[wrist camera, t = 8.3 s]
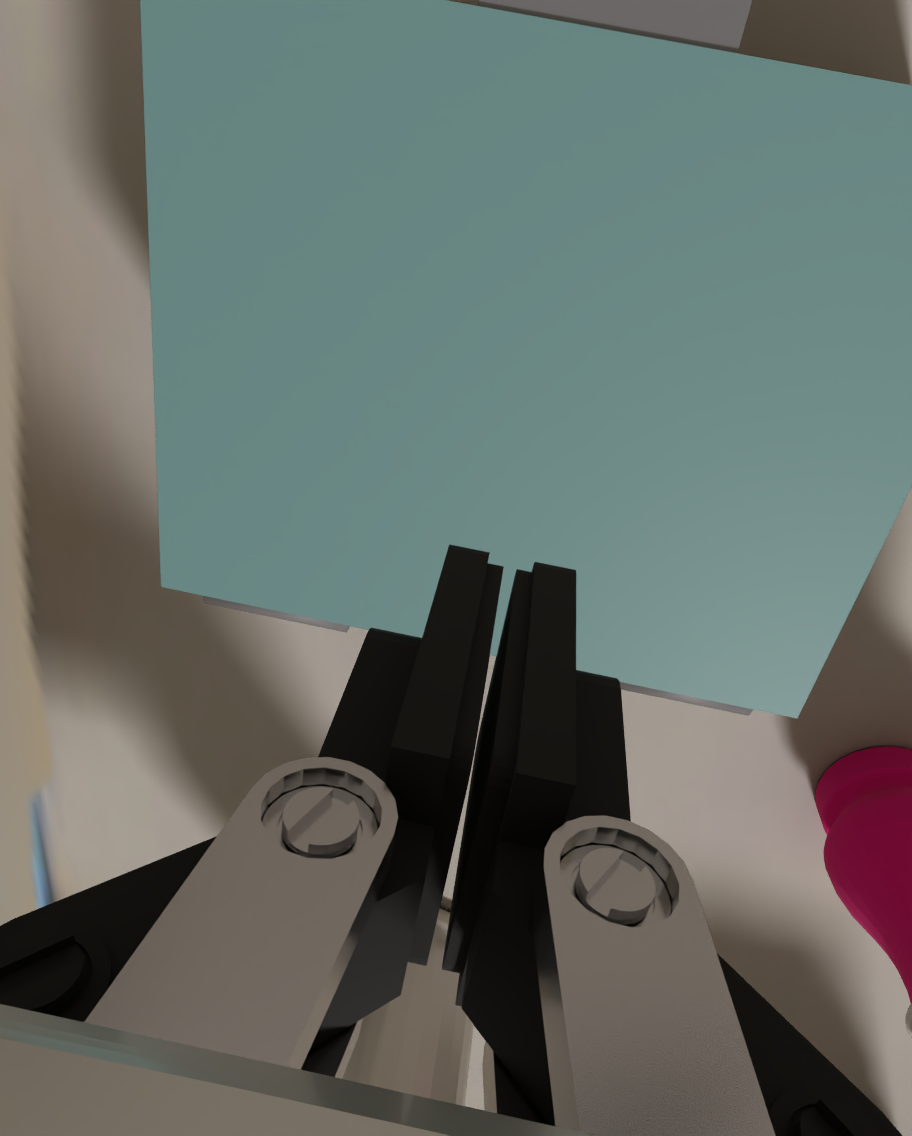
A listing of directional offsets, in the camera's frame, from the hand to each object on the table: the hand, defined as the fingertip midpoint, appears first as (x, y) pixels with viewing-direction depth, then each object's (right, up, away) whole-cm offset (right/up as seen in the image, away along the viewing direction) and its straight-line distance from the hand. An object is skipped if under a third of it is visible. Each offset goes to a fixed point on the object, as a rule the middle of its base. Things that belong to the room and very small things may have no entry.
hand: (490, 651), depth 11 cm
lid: (+2, +7, +13) cm, 15 cm away
